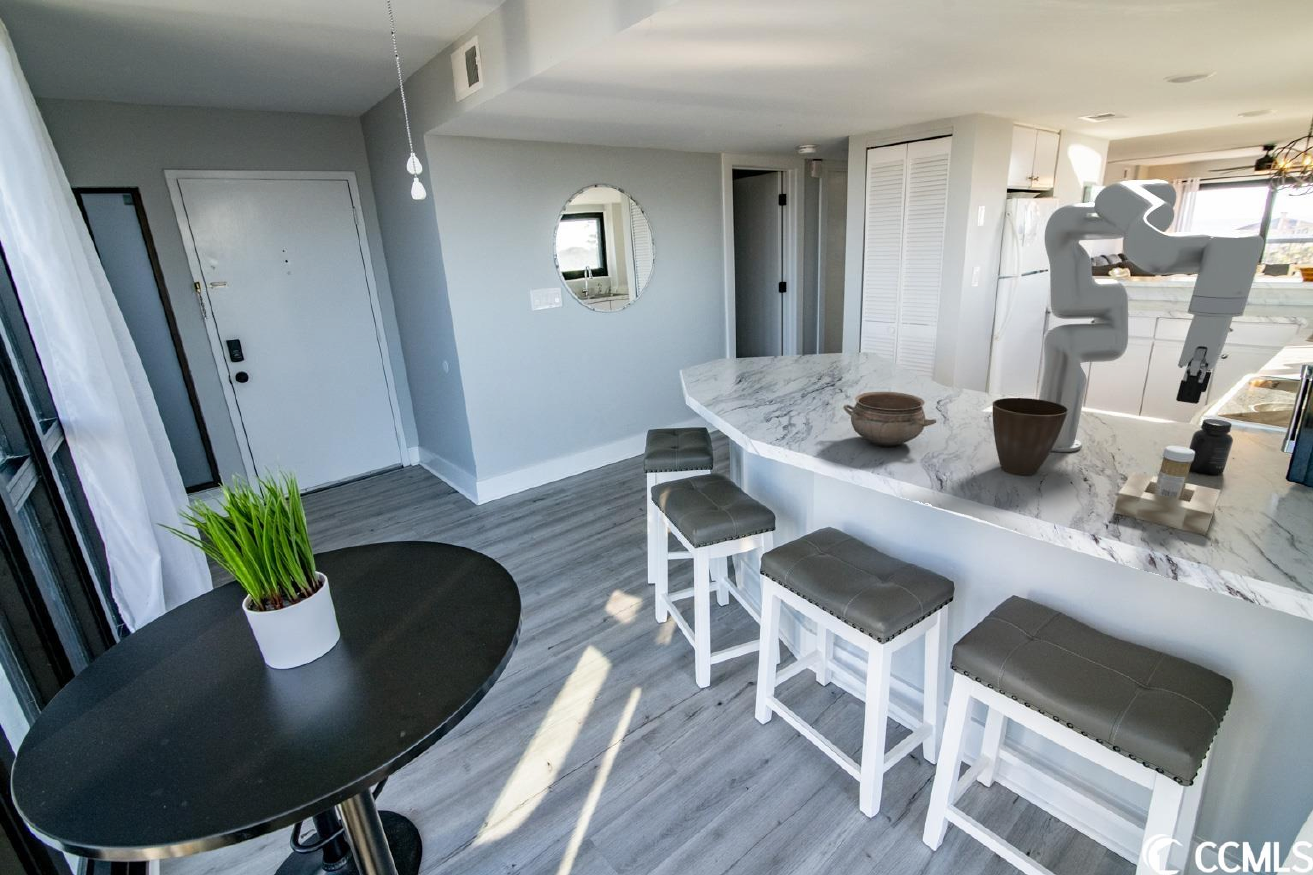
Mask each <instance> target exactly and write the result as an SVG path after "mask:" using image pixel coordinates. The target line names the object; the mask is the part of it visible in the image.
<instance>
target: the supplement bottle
mask: <svg viewBox="0 0 1313 875" xmlns="http://www.w3.org/2000/svg"><path fill="white" fill-rule="evenodd" d="M1231 428H1232V423H1231V422H1229V421H1227V420H1223V419H1216V418H1205V419H1203V420H1202V423H1201V426H1200V429H1199V430H1197V431H1195V432H1193V434H1192V437H1191V442H1190V444H1189V447H1188V448H1189V449H1192V450H1193V451H1195V456H1194V460H1193V461H1192V463H1191V465H1190V469H1189V472H1191V473H1194V474H1196V475H1201V476H1202V475H1203V476H1207V477H1208V476H1209V477H1217V476H1221V475H1222V474H1223V473H1224V471H1225V468H1226V466H1227V465H1226V464H1227V461H1228V460H1229V455H1230V452H1231V449H1232V445H1233V443H1234V438H1233V437H1232V435H1230V434H1229V433H1230V432H1231Z"/></svg>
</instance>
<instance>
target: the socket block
mask: <svg viewBox="0 0 1313 875" xmlns="http://www.w3.org/2000/svg"><path fill="white" fill-rule="evenodd" d="M1157 479H1158V476H1153V475H1148V474H1143V473H1138V472H1135V471H1134V472H1133V471H1132V472H1131V474H1130V476H1129V477H1128V479H1126V481H1125V482H1124V484H1123V485H1122V487H1121V489H1120V490H1119V491H1118V494H1117V498H1116V502H1115V505H1114V511H1113V514H1117V515H1121V516H1124V517H1125V516H1126V517H1129V518H1133V519H1137V520H1142V521H1146V522H1150V523H1154V524H1158V525H1161V526H1166V527H1170V528H1174V529H1179V530H1181V531H1185V532H1190V533H1193V534H1194V533H1195V534H1198V535H1202V536H1206V535H1207V533H1208V530H1209V527H1210V523H1211V521H1212V518H1213V515H1214V512H1215V510H1216V506H1217V502H1218V500H1219V496H1220V493H1221V489H1217V488H1212V487H1209V486H1202V485H1198V484H1192V483H1187V482H1186V486H1185V490H1184V493H1183V497H1182V499H1181V500H1178V499H1174V498H1169V497H1164V496H1160V495H1155V494H1154V490H1155V487H1156V483H1157Z"/></svg>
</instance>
